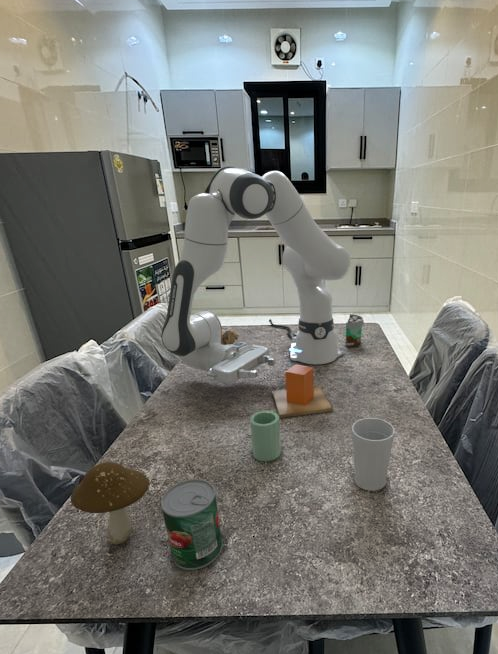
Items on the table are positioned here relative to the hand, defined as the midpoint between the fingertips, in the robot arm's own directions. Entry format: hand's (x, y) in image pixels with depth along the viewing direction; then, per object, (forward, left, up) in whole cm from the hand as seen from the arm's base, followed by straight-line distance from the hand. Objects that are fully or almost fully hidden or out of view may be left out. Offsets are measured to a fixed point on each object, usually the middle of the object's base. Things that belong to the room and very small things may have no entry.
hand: (265, 368), depth 108 cm
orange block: (+7, +8, -7) cm, 13 cm away
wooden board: (+7, +9, -8) cm, 14 cm away
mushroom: (+46, -29, -8) cm, 55 cm away
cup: (+42, +16, -8) cm, 46 cm away
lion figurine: (-40, -10, -8) cm, 42 cm away
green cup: (+28, -3, -8) cm, 30 cm away
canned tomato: (+51, -17, -8) cm, 55 cm away
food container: (-34, +39, -8) cm, 52 cm away
